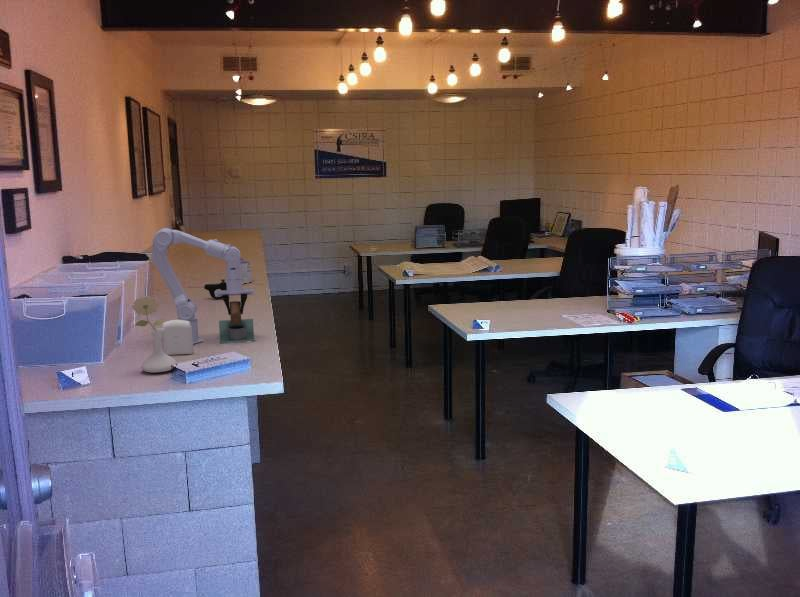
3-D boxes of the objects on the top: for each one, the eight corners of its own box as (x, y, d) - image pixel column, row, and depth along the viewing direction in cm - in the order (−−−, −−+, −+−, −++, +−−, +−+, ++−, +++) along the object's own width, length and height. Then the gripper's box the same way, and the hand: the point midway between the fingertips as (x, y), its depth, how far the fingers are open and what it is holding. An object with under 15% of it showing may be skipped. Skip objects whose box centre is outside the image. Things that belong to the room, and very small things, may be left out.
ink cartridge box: (245, 282, 426) (244, 257, 423) (252, 282, 423) (251, 257, 421) (233, 284, 418) (232, 259, 415) (240, 285, 415) (239, 259, 412)
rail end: (236, 324, 277) (235, 303, 276) (228, 323, 279) (227, 302, 278) (243, 322, 280) (242, 301, 279) (235, 321, 282) (234, 300, 281)
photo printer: (162, 355, 259) (160, 321, 256) (165, 352, 263) (162, 319, 261) (192, 354, 260) (190, 320, 257) (194, 351, 264) (192, 318, 262)
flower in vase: (181, 365, 246) (176, 292, 241) (172, 375, 234) (167, 298, 230) (142, 366, 245) (136, 293, 241) (131, 375, 234) (125, 299, 229)
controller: (229, 299, 369) (228, 280, 367) (204, 300, 367) (203, 281, 365) (229, 298, 373) (228, 278, 371) (205, 299, 371) (203, 279, 369)
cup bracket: (254, 341, 279) (254, 324, 277) (219, 343, 276) (218, 326, 275) (253, 335, 289) (252, 318, 287) (219, 337, 286) (218, 320, 284)
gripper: (252, 276, 282) (254, 311, 285) (214, 278, 279) (216, 313, 282) (253, 279, 276) (255, 314, 278) (214, 281, 272) (216, 316, 275)
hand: (235, 314), depth 279 cm, fingers closed on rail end, 4 cm apart
